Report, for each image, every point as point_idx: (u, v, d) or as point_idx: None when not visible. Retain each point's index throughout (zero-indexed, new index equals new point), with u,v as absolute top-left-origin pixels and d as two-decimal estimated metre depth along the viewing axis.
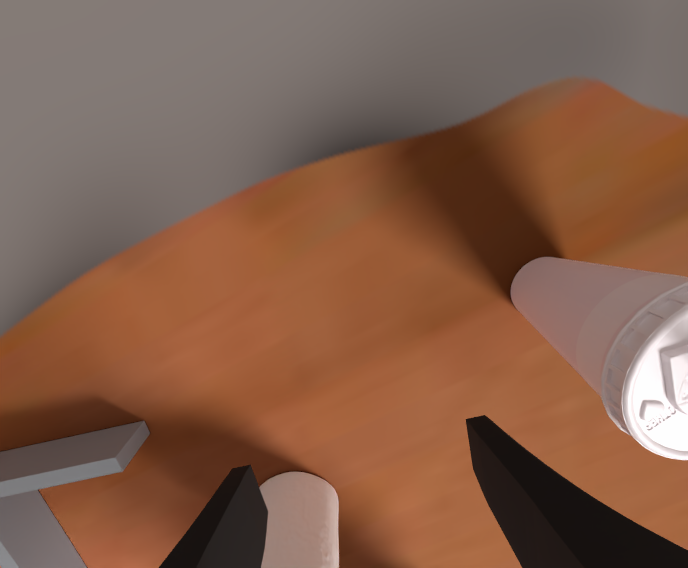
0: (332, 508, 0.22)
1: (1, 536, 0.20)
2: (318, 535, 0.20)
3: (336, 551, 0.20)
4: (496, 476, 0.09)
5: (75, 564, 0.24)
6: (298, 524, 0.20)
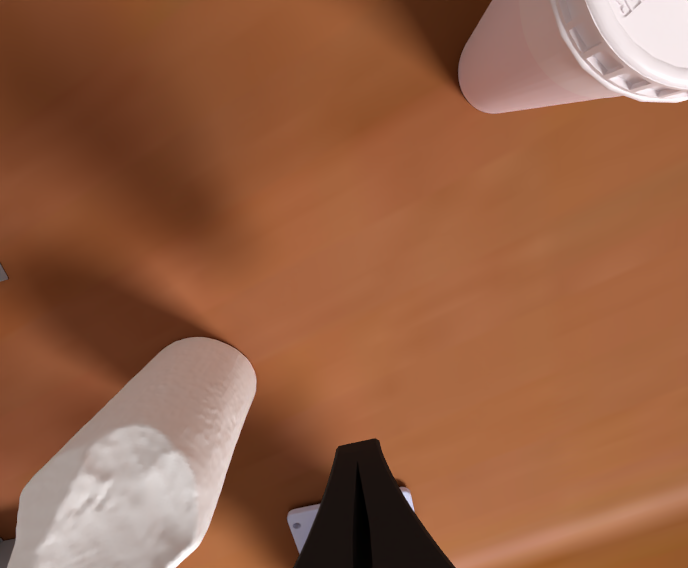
0: (240, 376, 0.17)
1: None
2: (206, 388, 0.15)
3: (233, 414, 0.15)
4: None
5: None
6: (181, 375, 0.15)
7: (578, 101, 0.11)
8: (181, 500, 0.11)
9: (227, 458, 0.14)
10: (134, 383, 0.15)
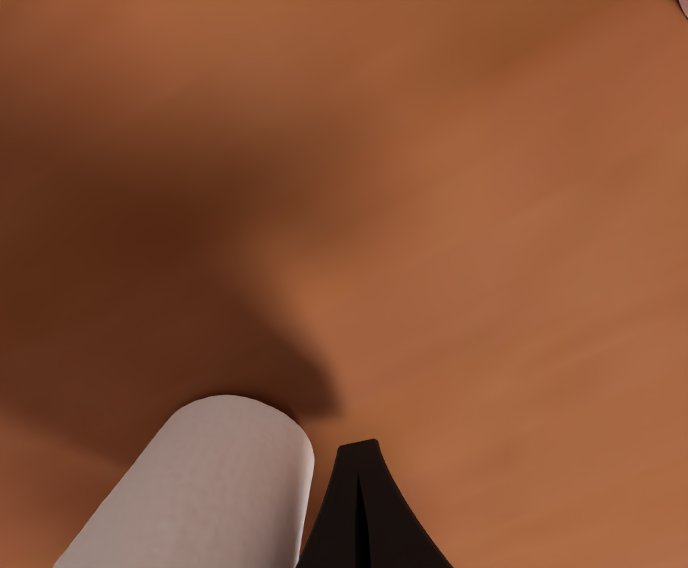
0: (294, 466, 0.11)
1: None
2: (243, 515, 0.08)
3: (288, 555, 0.09)
4: None
5: None
6: (200, 488, 0.09)
7: None
8: None
9: None
10: (120, 505, 0.08)
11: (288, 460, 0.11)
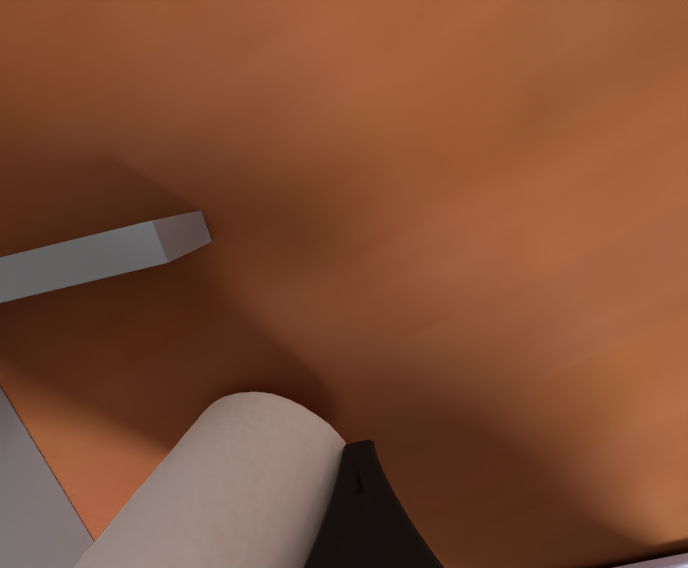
0: (333, 488, 0.10)
1: None
2: (274, 549, 0.08)
3: None
4: None
5: (64, 519, 0.13)
6: (231, 510, 0.08)
7: None
8: None
9: None
10: (150, 510, 0.08)
11: (327, 481, 0.10)
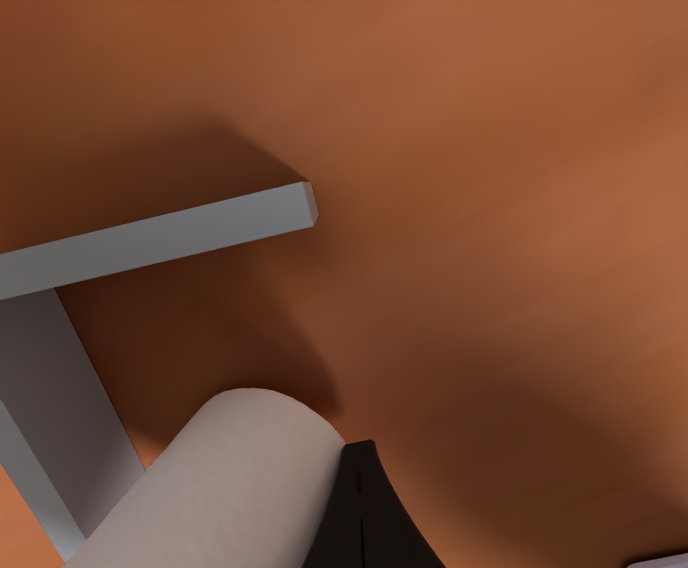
0: None
1: (14, 408, 0.09)
2: (276, 549, 0.08)
3: None
4: None
5: None
6: (234, 508, 0.08)
7: None
8: None
9: None
10: (151, 505, 0.08)
11: (327, 481, 0.10)
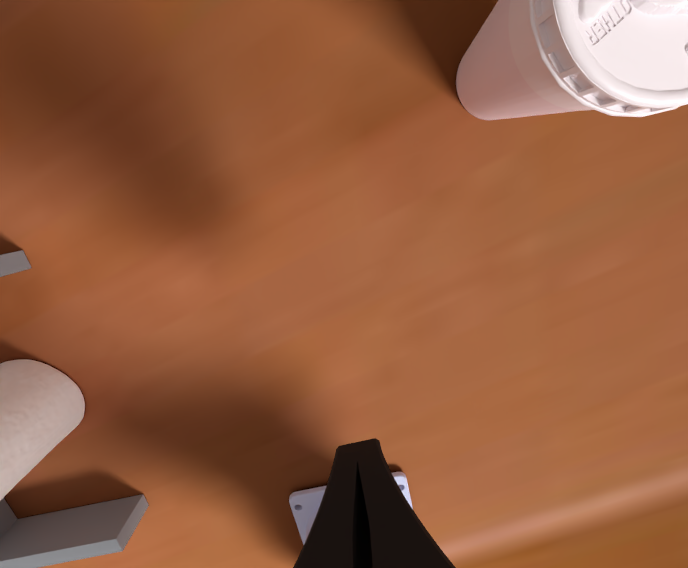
0: (57, 403, 0.19)
1: None
2: (0, 417, 0.16)
3: (26, 442, 0.17)
4: None
5: None
6: None
7: None
8: None
9: None
10: None
11: (53, 399, 0.19)
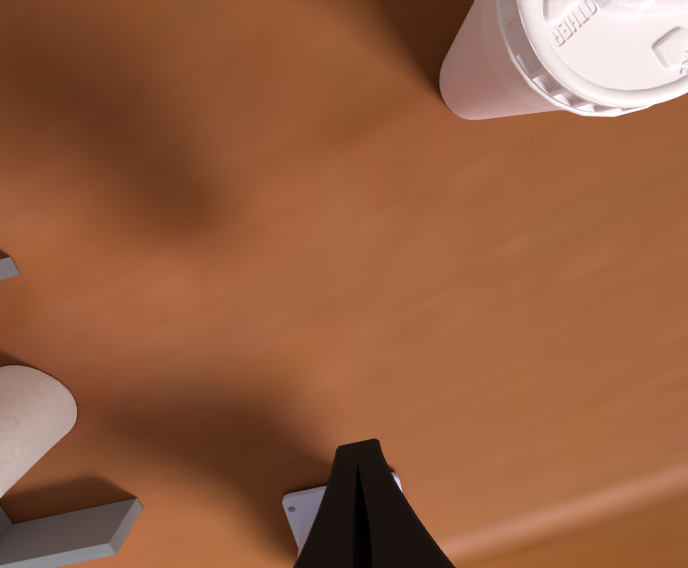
0: (48, 409, 0.19)
1: None
2: None
3: (17, 448, 0.17)
4: None
5: None
6: None
7: None
8: None
9: None
10: None
11: (44, 405, 0.19)
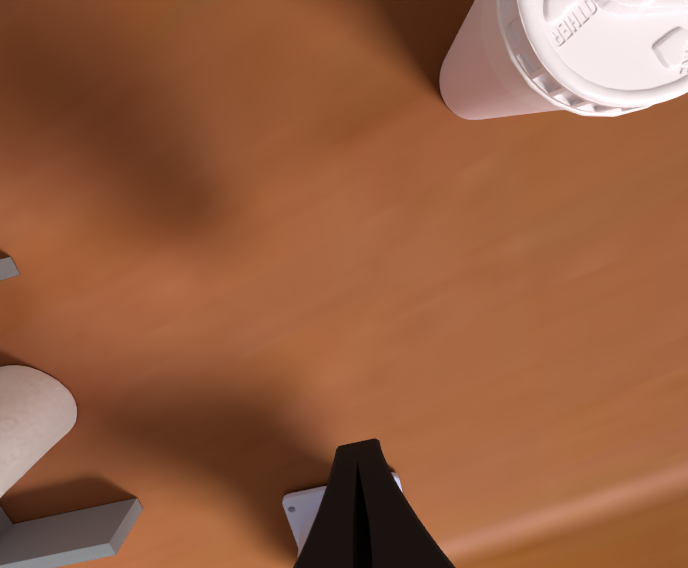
0: (48, 409, 0.19)
1: None
2: None
3: (17, 448, 0.17)
4: None
5: None
6: None
7: None
8: None
9: None
10: None
11: (44, 405, 0.19)
